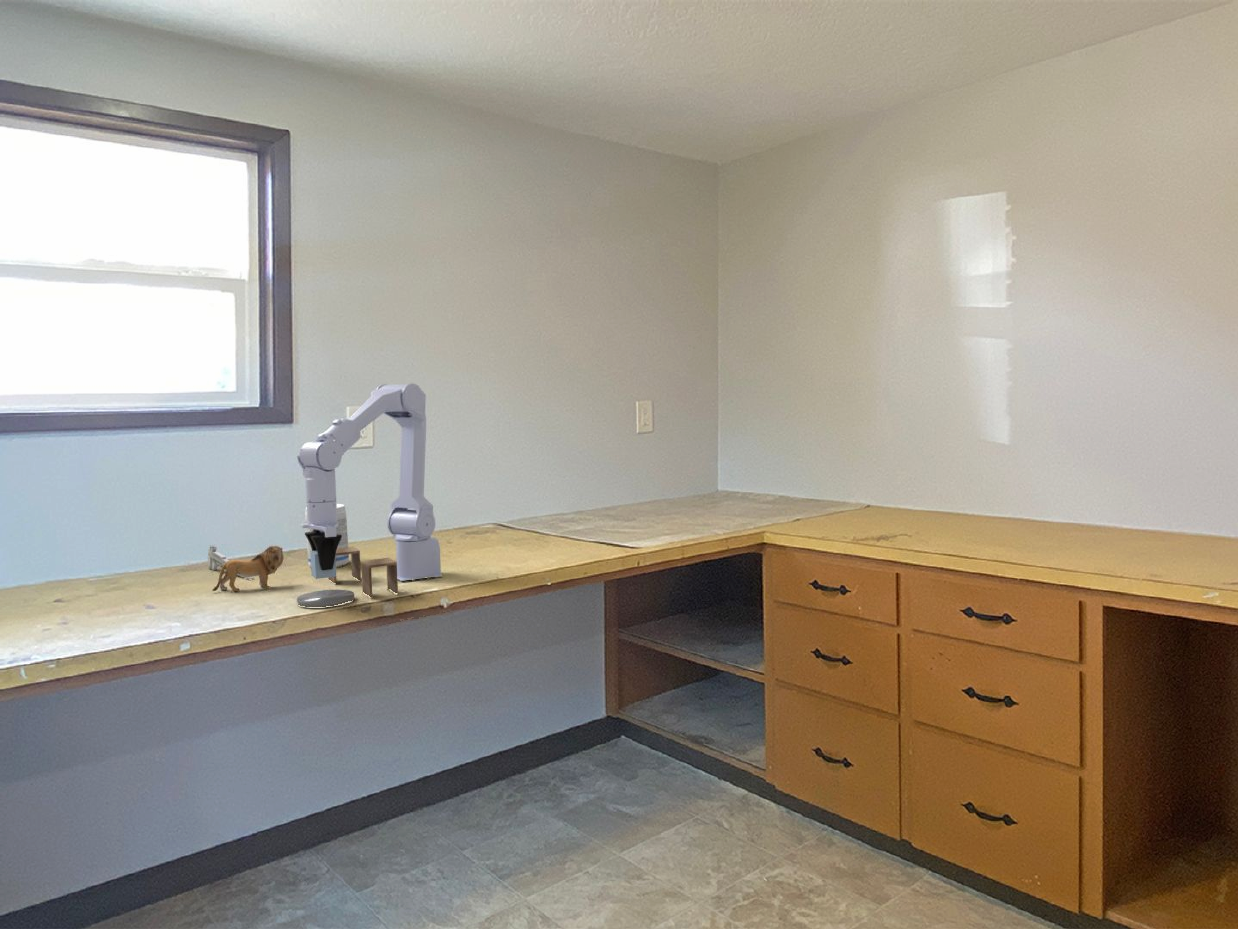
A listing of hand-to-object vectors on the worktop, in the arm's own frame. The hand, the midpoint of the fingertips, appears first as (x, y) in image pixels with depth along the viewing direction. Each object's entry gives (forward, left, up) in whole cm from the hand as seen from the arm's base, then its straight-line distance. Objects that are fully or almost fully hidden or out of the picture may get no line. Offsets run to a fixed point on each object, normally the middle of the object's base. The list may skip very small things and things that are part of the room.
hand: (324, 567), depth 171 cm
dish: (0, 0, -7) cm, 7 cm away
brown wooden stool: (-11, 0, -7) cm, 13 cm away
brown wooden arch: (-8, -18, -7) cm, 21 cm away
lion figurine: (+11, -22, -7) cm, 26 cm away
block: (0, 0, -2) cm, 2 cm away
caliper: (+13, -41, -8) cm, 43 cm away
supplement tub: (-9, -38, -7) cm, 40 cm away
